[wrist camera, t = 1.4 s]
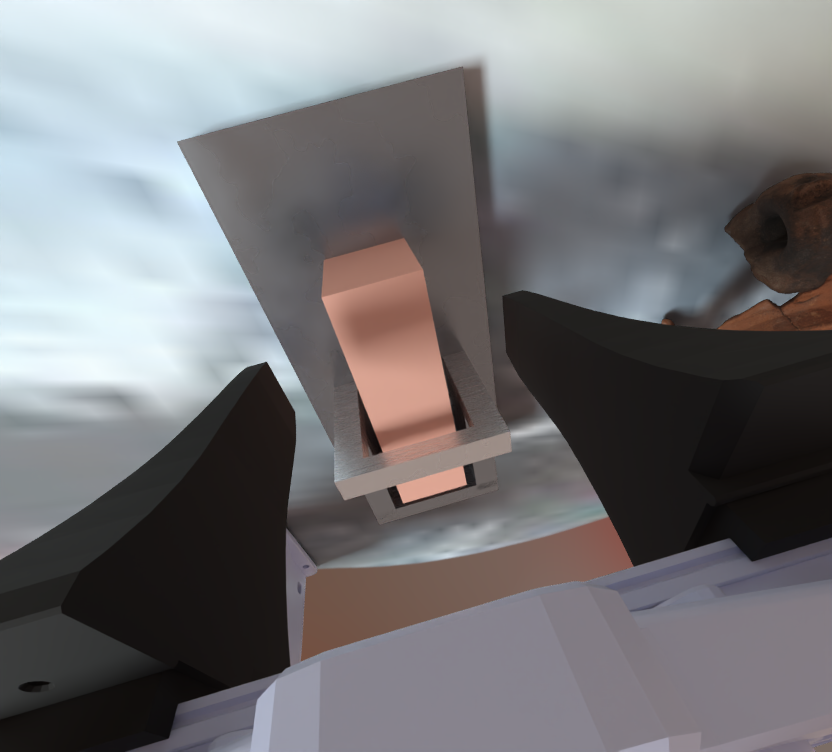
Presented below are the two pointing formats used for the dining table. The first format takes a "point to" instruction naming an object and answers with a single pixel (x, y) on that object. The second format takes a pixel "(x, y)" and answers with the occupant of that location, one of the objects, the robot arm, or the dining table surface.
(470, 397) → the dispenser
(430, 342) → the copper rectangular block
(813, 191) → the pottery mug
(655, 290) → the dining table surface
